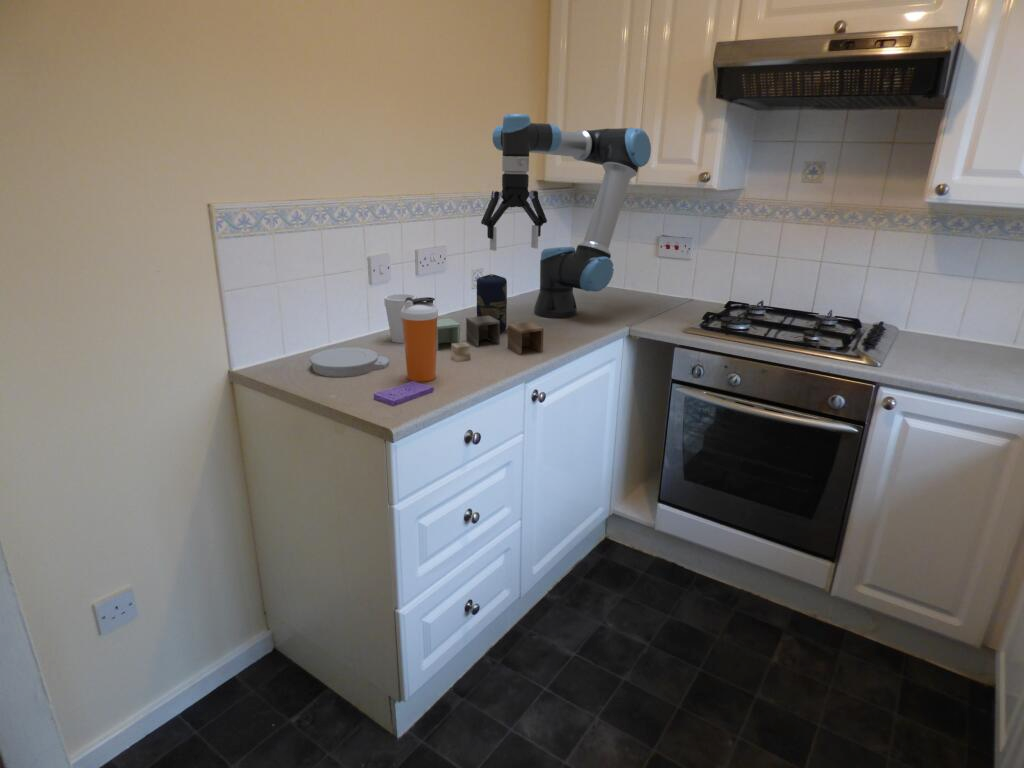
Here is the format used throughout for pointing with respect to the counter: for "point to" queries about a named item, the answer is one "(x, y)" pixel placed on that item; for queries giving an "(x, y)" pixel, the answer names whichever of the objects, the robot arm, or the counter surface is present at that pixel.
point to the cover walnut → (525, 336)
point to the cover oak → (482, 329)
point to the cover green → (447, 331)
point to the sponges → (403, 393)
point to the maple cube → (460, 351)
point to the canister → (492, 298)
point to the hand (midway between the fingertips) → (514, 249)
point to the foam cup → (396, 315)
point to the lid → (347, 362)
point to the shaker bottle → (420, 338)
